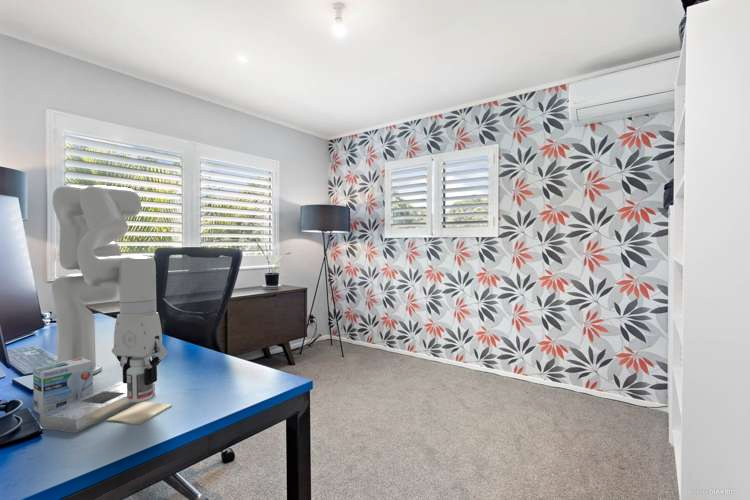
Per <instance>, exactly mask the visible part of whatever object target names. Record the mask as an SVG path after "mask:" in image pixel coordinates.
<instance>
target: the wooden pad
mask: <svg viewBox="0 0 750 500" xmlns="http://www.w3.org/2000/svg"><path fill="white" fill-rule="evenodd" d="M172 406H173V404H172V403H171V404H170V403H159V402H151V401H150V402H149V401H139V402H137V403H135V404H133V405H131V406H129V407H127V408H125V409H123V410H121V411H119V412H117V413H115V414H113V415H111V416H109V417H107V418H106V421H107V422H113V423H122V424H132V425H141V424H143V423H146V422H147V421H148V420H151V419H152V418H154V417H156V416H157V415H158V414H160V413H162V412H164V411H166V410H168V409H170V408H172Z"/></svg>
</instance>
